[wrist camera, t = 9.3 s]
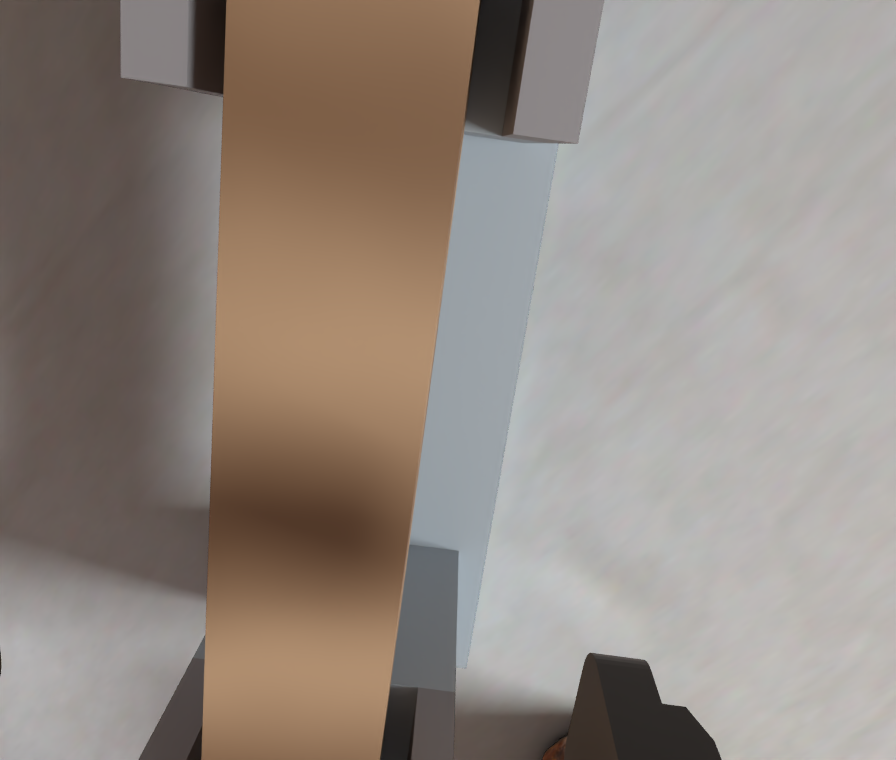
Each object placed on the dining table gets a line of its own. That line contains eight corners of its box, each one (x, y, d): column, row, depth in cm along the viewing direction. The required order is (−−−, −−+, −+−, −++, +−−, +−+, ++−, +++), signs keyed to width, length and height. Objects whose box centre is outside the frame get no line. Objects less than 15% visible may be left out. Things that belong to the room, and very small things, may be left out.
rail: (303, -32, 14) (229, -108, 10) (481, -5, 14) (488, -71, 10) (255, 740, 20) (196, 903, 16) (381, 756, 20) (357, 923, 16)
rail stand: (275, -78, 21) (41, -349, 9) (585, -33, 21) (725, -243, 9) (238, 620, 28) (82, 943, 17) (466, 650, 28) (465, 991, 17)
